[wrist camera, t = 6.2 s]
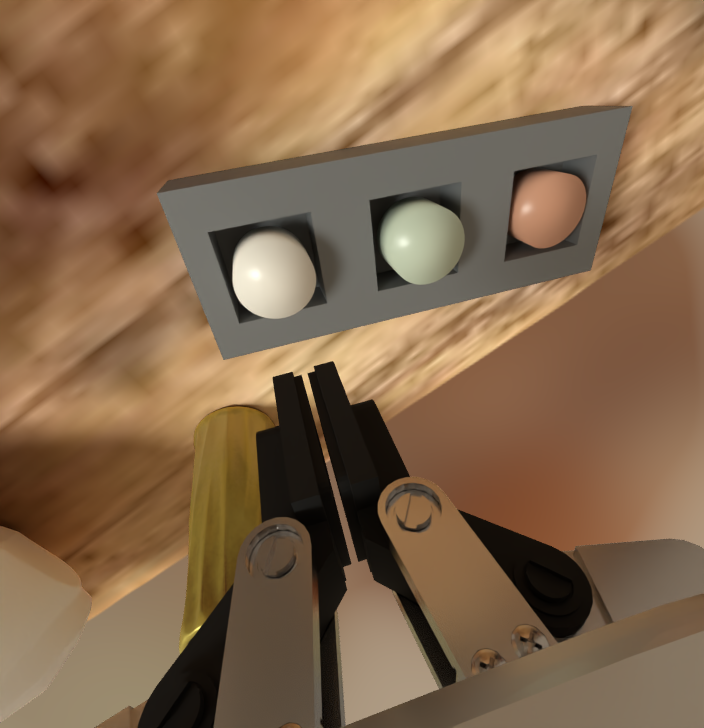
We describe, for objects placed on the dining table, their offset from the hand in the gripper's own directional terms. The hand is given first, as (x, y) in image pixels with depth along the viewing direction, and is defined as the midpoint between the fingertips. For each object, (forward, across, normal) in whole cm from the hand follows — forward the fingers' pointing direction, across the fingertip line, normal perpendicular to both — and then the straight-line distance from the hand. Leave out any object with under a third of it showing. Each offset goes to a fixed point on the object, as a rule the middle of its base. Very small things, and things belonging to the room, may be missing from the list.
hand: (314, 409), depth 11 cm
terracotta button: (+13, -16, 0) cm, 21 cm away
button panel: (+15, -8, 0) cm, 17 cm away
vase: (+15, +6, +14) cm, 21 cm away
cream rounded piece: (+12, 0, 0) cm, 12 cm away
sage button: (+12, -8, 0) cm, 15 cm away
